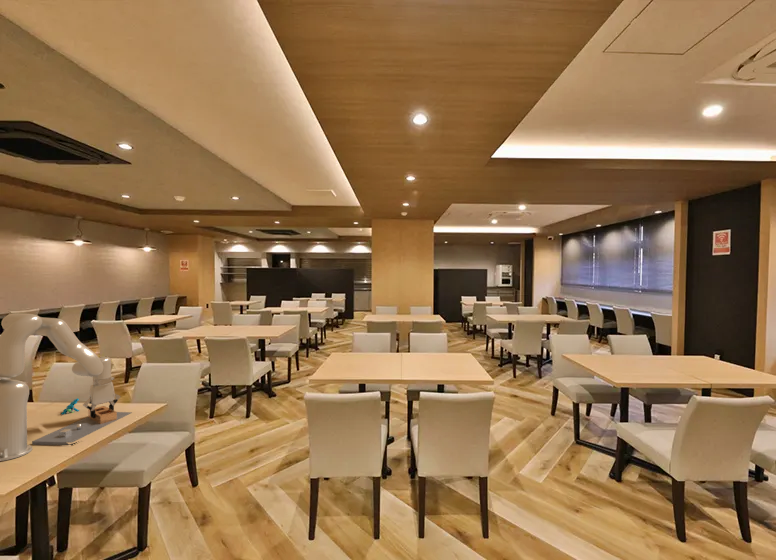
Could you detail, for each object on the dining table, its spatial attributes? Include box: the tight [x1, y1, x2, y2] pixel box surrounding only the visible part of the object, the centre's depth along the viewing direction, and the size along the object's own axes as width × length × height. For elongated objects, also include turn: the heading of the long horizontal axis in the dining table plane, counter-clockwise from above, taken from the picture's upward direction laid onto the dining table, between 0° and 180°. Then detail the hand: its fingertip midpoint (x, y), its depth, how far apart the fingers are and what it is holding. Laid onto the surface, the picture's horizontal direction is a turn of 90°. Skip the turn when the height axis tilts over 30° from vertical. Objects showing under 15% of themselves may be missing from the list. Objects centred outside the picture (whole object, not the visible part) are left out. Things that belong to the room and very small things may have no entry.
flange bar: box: [87, 405, 118, 424], centre depth 191 cm, size 16×7×4 cm, turn 57°
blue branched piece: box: [60, 398, 80, 416], centre depth 203 cm, size 11×6×10 cm
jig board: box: [31, 411, 134, 446], centre depth 182 cm, size 36×19×4 cm, turn 177°
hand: (102, 414), depth 191 cm, fingers closed on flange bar, 7 cm apart
